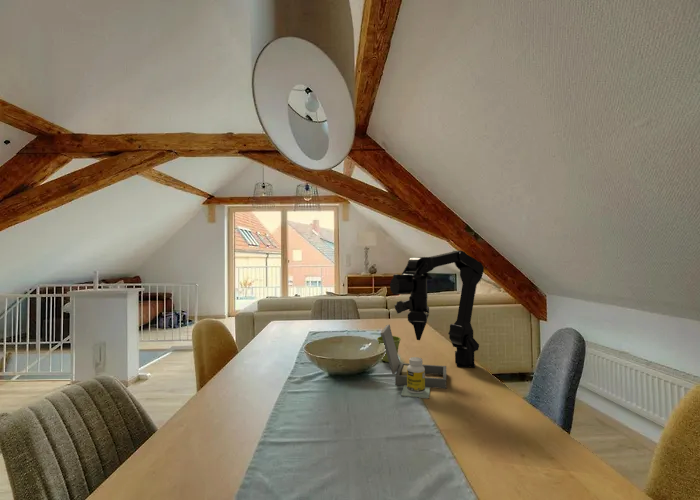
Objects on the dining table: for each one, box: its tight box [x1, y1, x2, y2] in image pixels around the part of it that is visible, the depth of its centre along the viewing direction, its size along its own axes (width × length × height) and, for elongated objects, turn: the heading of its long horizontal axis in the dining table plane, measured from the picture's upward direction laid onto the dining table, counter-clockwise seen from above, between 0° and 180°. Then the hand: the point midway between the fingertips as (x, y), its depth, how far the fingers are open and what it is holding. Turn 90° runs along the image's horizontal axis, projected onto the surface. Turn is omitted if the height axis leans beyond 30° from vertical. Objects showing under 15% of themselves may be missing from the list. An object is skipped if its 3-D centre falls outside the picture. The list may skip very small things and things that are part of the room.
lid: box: [380, 324, 401, 375], centre depth 126 cm, size 14×13×1 cm
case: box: [394, 362, 447, 389], centre depth 123 cm, size 16×14×3 cm
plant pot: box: [376, 335, 402, 363], centre depth 145 cm, size 9×9×9 cm
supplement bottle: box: [407, 356, 426, 394], centre depth 112 cm, size 5×5×10 cm
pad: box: [401, 385, 431, 399], centre depth 112 cm, size 8×8×1 cm
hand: (419, 337), depth 128 cm, fingers open, 9 cm apart
